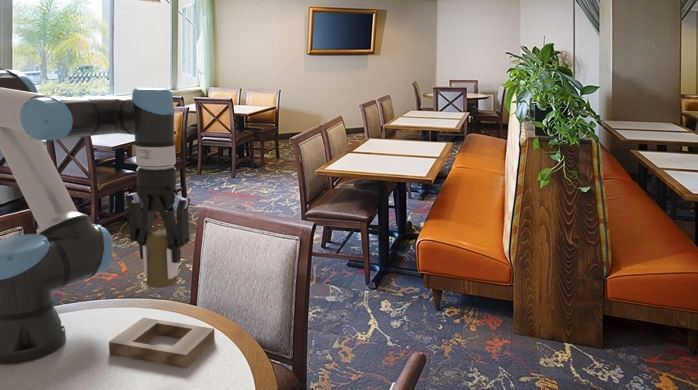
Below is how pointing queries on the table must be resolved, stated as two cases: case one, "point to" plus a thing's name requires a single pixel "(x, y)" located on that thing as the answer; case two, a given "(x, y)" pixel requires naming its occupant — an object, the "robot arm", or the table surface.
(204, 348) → the brown picture frame
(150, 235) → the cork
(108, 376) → the table surface
